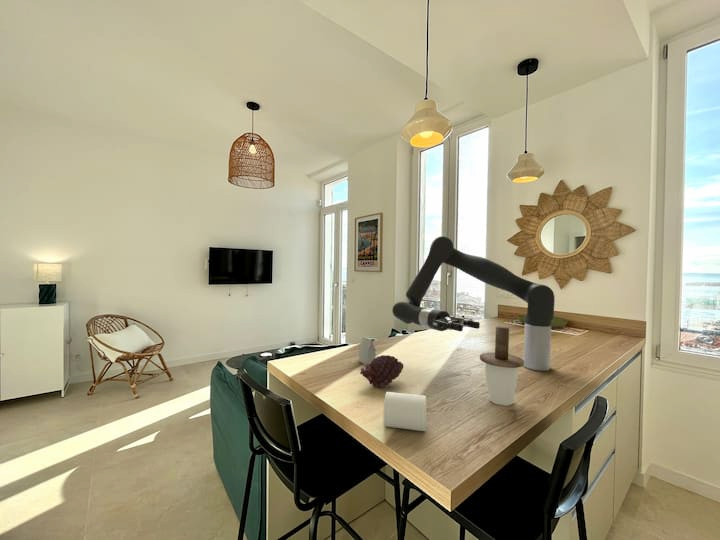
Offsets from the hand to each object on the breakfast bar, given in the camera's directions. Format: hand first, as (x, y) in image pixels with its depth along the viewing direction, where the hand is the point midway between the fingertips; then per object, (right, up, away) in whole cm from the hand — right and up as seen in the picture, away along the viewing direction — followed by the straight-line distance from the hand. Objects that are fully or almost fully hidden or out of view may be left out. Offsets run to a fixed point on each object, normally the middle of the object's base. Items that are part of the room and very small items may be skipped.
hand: (470, 326), depth 102 cm
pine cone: (-28, -20, +1) cm, 35 cm away
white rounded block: (-25, -20, -23) cm, 39 cm away
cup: (+6, -21, -9) cm, 23 cm away
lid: (+6, -8, -9) cm, 14 cm away
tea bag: (-33, -19, +24) cm, 45 cm away
